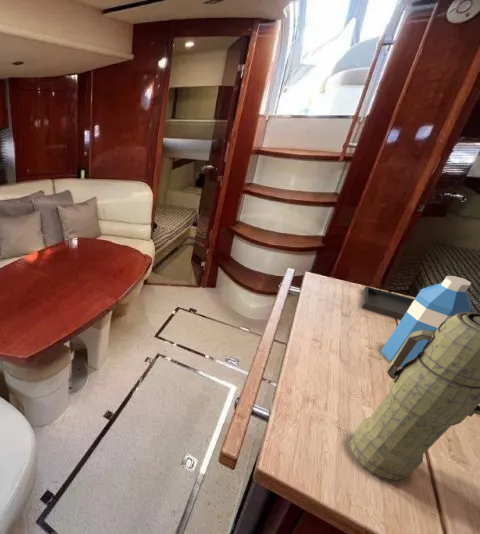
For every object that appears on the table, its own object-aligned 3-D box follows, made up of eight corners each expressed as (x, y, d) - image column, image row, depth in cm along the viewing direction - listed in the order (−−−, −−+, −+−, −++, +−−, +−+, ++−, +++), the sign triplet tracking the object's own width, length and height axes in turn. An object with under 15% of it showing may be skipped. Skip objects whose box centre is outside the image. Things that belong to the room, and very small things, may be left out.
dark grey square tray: (413, 304, 102) (416, 299, 101) (416, 324, 94) (419, 319, 93) (363, 290, 110) (365, 285, 109) (361, 308, 101) (364, 303, 100)
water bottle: (377, 340, 88) (424, 266, 76) (421, 352, 84) (478, 276, 72) (384, 362, 81) (437, 284, 69) (432, 376, 77) (498, 296, 65)
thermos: (339, 424, 67) (426, 293, 49) (413, 459, 60) (544, 322, 43) (336, 456, 61) (434, 322, 43) (418, 499, 54) (573, 360, 37)
